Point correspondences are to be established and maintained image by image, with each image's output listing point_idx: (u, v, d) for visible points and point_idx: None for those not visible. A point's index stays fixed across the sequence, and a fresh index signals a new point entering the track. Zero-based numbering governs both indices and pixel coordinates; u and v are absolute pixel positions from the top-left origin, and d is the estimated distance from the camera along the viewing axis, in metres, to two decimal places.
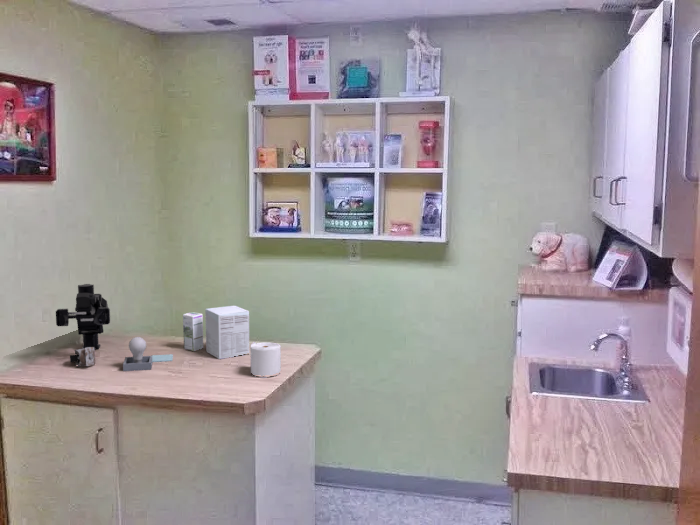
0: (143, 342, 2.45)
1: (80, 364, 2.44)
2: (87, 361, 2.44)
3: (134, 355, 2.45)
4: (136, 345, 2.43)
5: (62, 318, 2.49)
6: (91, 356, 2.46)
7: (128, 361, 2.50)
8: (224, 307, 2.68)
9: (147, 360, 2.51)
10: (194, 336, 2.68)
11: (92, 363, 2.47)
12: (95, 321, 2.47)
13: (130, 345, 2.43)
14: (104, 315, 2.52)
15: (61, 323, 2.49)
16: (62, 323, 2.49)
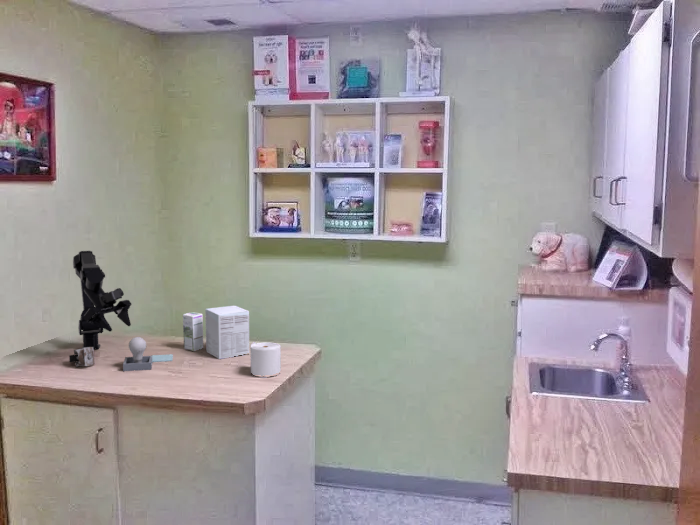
0: (143, 342, 2.45)
1: (79, 364, 2.44)
2: (86, 361, 2.44)
3: (134, 355, 2.45)
4: (136, 345, 2.43)
5: (96, 318, 2.44)
6: (90, 356, 2.46)
7: (128, 361, 2.50)
8: (224, 307, 2.68)
9: (147, 360, 2.51)
10: (194, 336, 2.68)
11: (91, 363, 2.47)
12: None
13: (130, 345, 2.43)
14: None
15: (93, 321, 2.44)
16: (93, 321, 2.44)
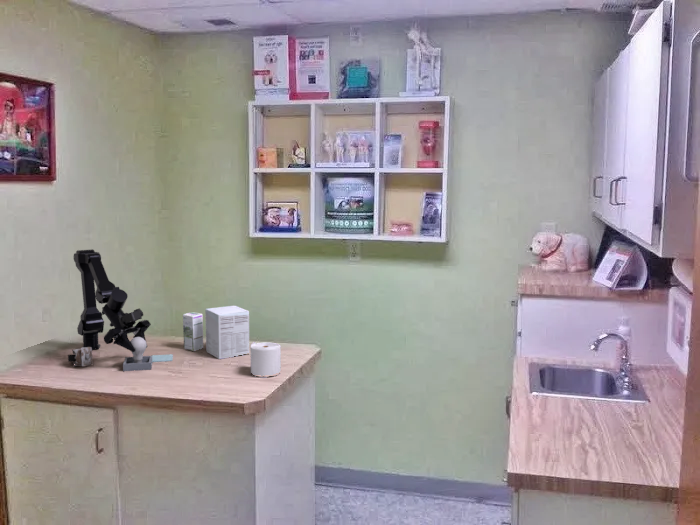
0: (143, 342, 2.45)
1: (76, 364, 2.44)
2: (83, 361, 2.43)
3: (134, 355, 2.45)
4: (136, 345, 2.43)
5: (119, 338, 2.42)
6: (87, 356, 2.46)
7: (128, 361, 2.50)
8: (224, 307, 2.68)
9: (147, 360, 2.51)
10: (194, 336, 2.68)
11: (89, 363, 2.47)
12: None
13: None
14: None
15: (116, 342, 2.42)
16: (116, 342, 2.43)
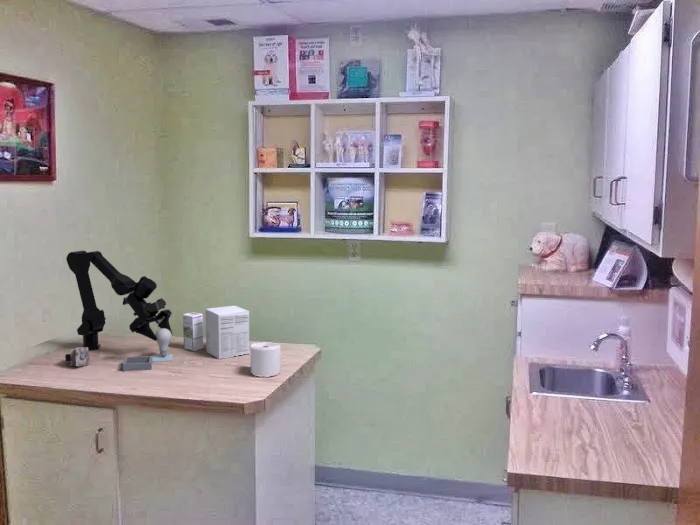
0: (169, 333, 2.57)
1: (71, 364, 2.44)
2: (77, 361, 2.43)
3: (160, 345, 2.56)
4: (162, 336, 2.55)
5: (142, 328, 2.51)
6: (83, 356, 2.45)
7: (128, 361, 2.50)
8: (224, 307, 2.68)
9: (147, 360, 2.51)
10: (194, 336, 2.68)
11: (84, 363, 2.46)
12: None
13: (157, 336, 2.55)
14: None
15: (138, 331, 2.51)
16: (139, 331, 2.51)
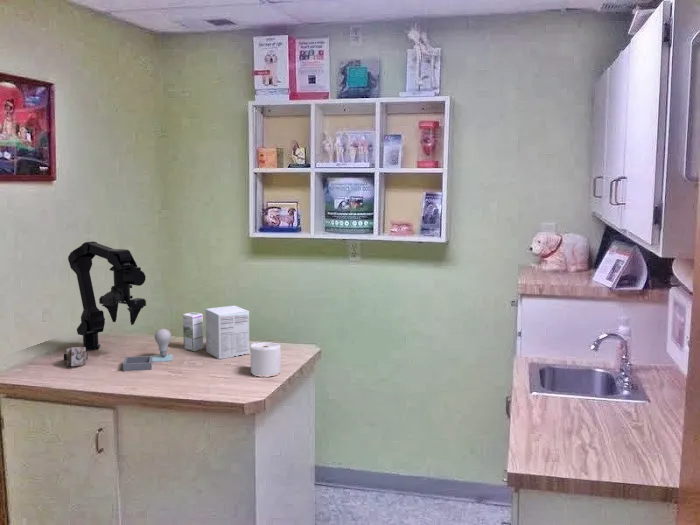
0: (168, 333, 2.56)
1: (68, 363, 2.45)
2: (73, 361, 2.43)
3: (160, 346, 2.56)
4: (162, 336, 2.54)
5: None
6: (79, 356, 2.46)
7: (128, 361, 2.50)
8: (224, 307, 2.68)
9: (147, 360, 2.51)
10: (194, 336, 2.68)
11: (80, 363, 2.47)
12: (134, 321, 2.56)
13: (156, 336, 2.55)
14: (136, 309, 2.53)
15: None
16: None
